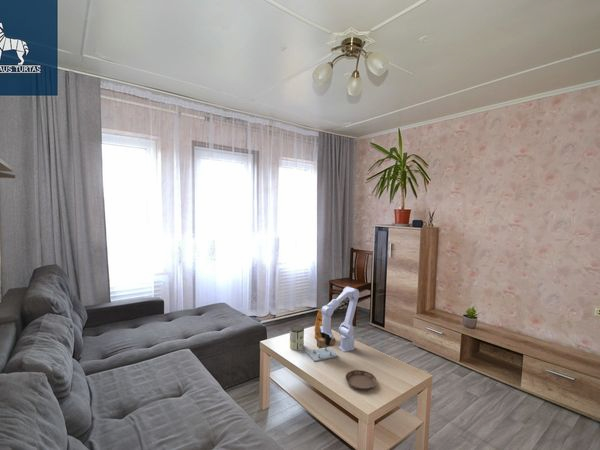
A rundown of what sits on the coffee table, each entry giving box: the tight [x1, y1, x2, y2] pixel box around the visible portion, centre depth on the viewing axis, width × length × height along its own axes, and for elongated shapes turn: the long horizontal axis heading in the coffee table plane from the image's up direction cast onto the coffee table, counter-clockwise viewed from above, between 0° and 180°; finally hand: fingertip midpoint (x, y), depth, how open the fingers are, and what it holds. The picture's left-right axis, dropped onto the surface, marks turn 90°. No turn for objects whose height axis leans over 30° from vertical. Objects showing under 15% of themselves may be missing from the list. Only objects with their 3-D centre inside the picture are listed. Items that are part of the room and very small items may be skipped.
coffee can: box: [289, 324, 305, 351], centre depth 203 cm, size 10×10×14 cm
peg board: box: [306, 347, 339, 363], centre depth 192 cm, size 18×12×4 cm, turn 113°
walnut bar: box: [316, 336, 336, 350], centre depth 190 cm, size 12×4×5 cm, turn 114°
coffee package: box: [314, 309, 333, 340], centre depth 217 cm, size 10×12×22 cm
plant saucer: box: [345, 369, 378, 392], centre depth 162 cm, size 18×18×3 cm
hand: (326, 343), depth 190 cm, fingers closed on walnut bar, 4 cm apart
